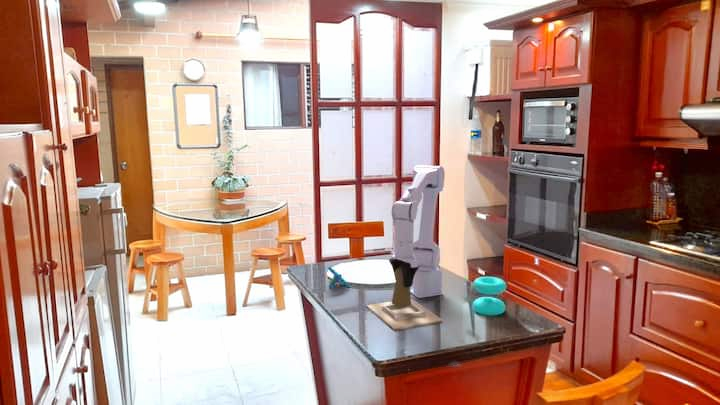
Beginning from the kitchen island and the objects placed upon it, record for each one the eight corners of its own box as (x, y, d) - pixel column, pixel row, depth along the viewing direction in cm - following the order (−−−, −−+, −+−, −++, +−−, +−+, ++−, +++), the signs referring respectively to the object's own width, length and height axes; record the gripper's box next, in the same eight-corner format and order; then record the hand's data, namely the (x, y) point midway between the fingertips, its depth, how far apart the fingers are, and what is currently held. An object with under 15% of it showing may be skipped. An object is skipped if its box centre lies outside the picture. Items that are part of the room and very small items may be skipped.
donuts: (489, 287, 155) (466, 278, 163) (488, 319, 157) (465, 309, 165) (513, 282, 160) (489, 273, 169) (512, 312, 162) (488, 303, 170)
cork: (405, 308, 156) (407, 272, 154) (388, 303, 159) (390, 268, 158) (414, 302, 161) (416, 268, 159) (397, 298, 164) (399, 264, 163)
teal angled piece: (352, 286, 181) (331, 267, 180) (341, 299, 181) (320, 280, 180) (349, 281, 192) (329, 263, 191) (338, 293, 192) (318, 274, 191)
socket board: (410, 299, 173) (411, 294, 173) (442, 321, 155) (442, 316, 155) (366, 306, 167) (366, 301, 167) (394, 330, 149) (394, 324, 149)
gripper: (381, 236, 162) (381, 278, 165) (403, 247, 149) (402, 293, 151) (402, 234, 165) (401, 275, 167) (424, 245, 152) (423, 289, 154)
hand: (403, 283), depth 159 cm, fingers closed on cork, 5 cm apart
